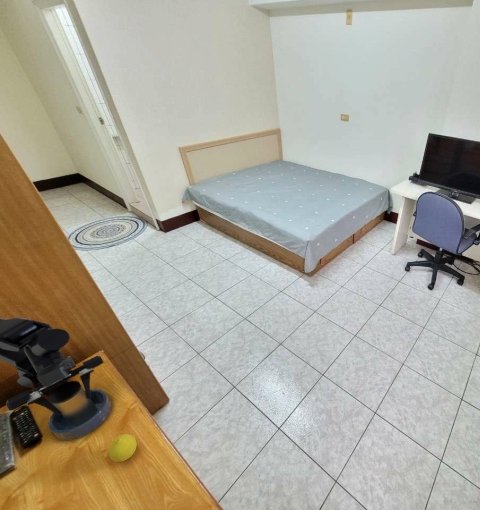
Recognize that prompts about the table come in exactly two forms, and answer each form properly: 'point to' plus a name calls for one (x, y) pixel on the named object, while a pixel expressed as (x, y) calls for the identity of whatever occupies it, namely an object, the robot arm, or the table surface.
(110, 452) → the lemon
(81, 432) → the dish
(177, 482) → the table surface
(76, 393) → the tin
